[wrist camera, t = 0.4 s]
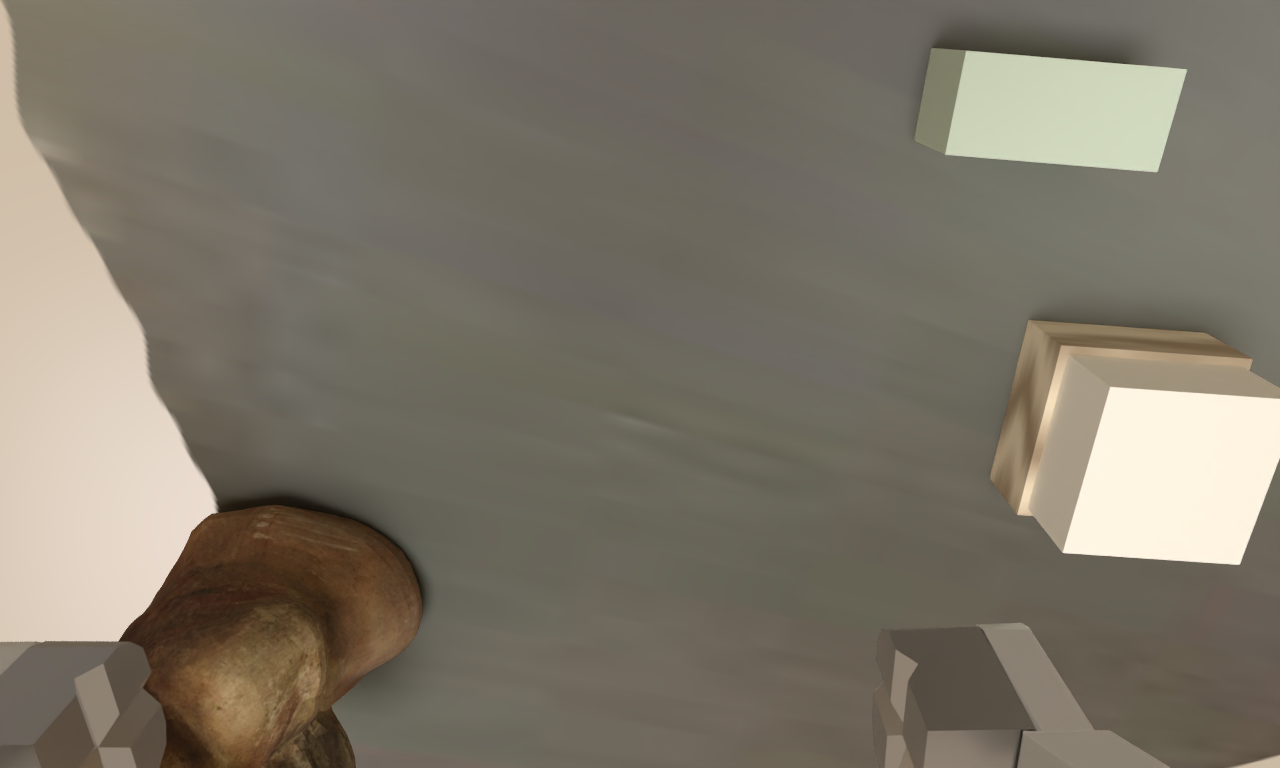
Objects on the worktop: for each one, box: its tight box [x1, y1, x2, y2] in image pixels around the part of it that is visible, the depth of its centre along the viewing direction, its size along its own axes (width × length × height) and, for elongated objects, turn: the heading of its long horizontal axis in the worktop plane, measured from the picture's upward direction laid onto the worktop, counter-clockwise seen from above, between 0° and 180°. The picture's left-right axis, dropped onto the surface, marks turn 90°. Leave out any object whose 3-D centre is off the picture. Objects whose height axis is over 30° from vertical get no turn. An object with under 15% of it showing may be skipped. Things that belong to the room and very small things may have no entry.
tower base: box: [990, 320, 1253, 516], centre depth 55 cm, size 11×11×5 cm
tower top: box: [1028, 354, 1280, 565], centre depth 50 cm, size 10×10×5 cm
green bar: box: [914, 48, 1187, 172], centre depth 48 cm, size 5×11×6 cm, turn 86°
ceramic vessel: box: [118, 505, 422, 768], centre depth 48 cm, size 16×22×30 cm
